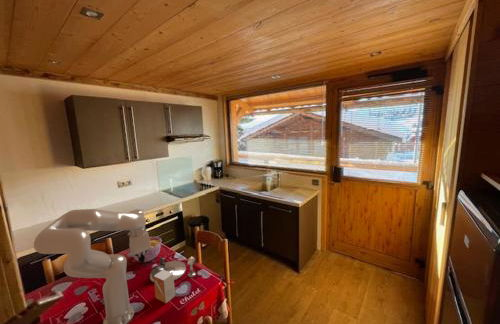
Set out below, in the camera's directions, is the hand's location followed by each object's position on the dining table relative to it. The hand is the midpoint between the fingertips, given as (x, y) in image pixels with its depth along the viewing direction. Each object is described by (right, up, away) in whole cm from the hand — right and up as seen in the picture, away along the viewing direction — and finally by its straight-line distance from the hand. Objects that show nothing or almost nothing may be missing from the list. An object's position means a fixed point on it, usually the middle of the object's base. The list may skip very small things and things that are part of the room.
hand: (142, 261), depth 123 cm
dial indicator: (+26, -12, +8) cm, 30 cm away
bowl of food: (-10, -11, +28) cm, 32 cm away
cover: (+7, -11, +7) cm, 15 cm away
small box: (+17, -15, -9) cm, 24 cm away
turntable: (+11, -12, +11) cm, 20 cm away
